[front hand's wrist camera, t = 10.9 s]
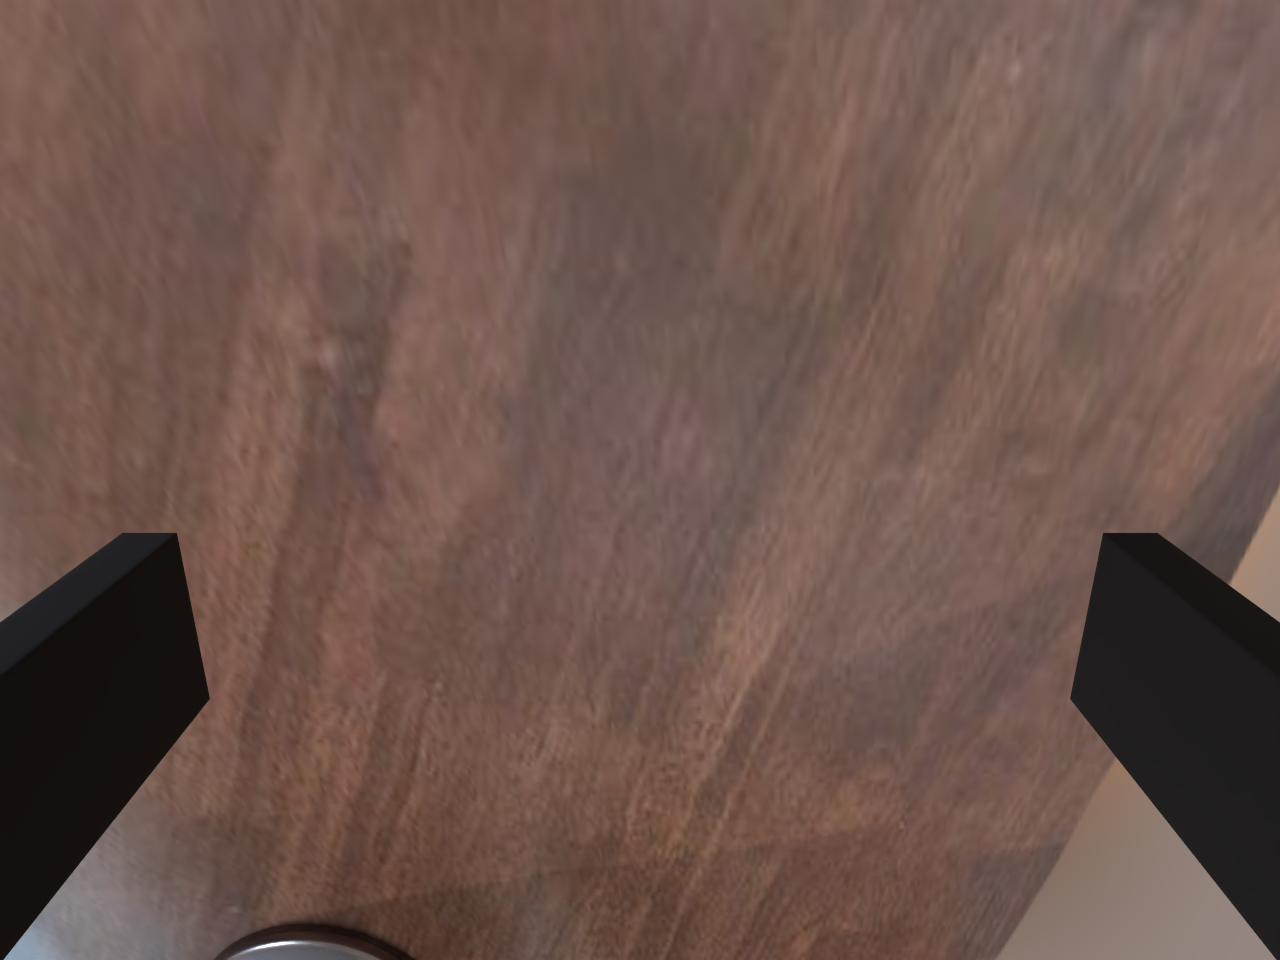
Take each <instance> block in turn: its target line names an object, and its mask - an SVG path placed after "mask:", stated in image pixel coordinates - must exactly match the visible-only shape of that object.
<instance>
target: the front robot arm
mask: <svg viewBox="0 0 1280 960" xmlns="http://www.w3.org/2000/svg"><path fill="white" fill-rule="evenodd" d="M209 699H210V697H209V692H208V687H207V682H206V677H205V672H204V667H203V662H202V657H201V652H200V647H199V642H198V637H197V632H196V627H195V622H194V617H193V612H192V607H191V602H190V597H189V592H188V587H187V582H186V577H185V572H184V567H183V562H182V557H181V552H180V547H179V542H178V537H177V533H122V534H121V535H119V536H118V537H117V538H115V539H114V540H112V541H111V542H110V543H108V544H107V545H106V546H104V547H103V548H102V549H100V550H99V551H97V552H96V553H95V554H93V555H92V556H91V557H89V558H88V559H86V560H85V561H84V562H82V563H81V564H80V565H78V566H77V567H76V568H74V569H73V570H71V571H70V572H69V573H67V574H66V575H65V576H63V577H62V578H60V579H59V580H58V581H56V582H55V583H54V584H52V585H51V586H50V587H48V588H47V589H45V590H44V591H43V592H41V593H40V594H39V595H37V596H36V597H34V598H33V599H32V600H30V601H29V602H28V603H26V604H25V605H24V606H22V607H21V608H19V609H18V610H17V611H15V612H14V613H13V614H11V615H10V616H9V617H7V618H6V619H4V620H3V621H2V622H0V960H4V958H5V957H6V956H7V954H8V953H9V952H10V951H11V949H12V948H13V947H14V946H15V944H16V943H17V942H18V941H19V939H20V938H21V937H22V936H23V934H24V933H25V932H26V930H27V929H28V928H29V927H30V925H31V924H32V923H33V922H34V920H35V919H36V918H37V917H38V915H39V914H40V913H41V912H42V910H43V909H44V908H45V906H46V905H47V904H48V903H49V901H50V900H51V899H52V898H53V896H54V895H55V894H56V893H57V891H58V890H59V889H60V887H61V886H62V885H63V884H64V882H65V881H66V880H67V879H68V877H69V876H70V875H71V874H72V872H73V871H74V870H75V869H76V867H77V866H78V865H79V863H80V862H81V861H82V860H83V858H84V857H85V856H86V855H87V853H88V852H89V851H90V850H91V848H92V847H93V846H94V845H95V843H96V842H97V841H98V839H99V838H100V837H101V836H102V834H103V833H104V832H105V831H106V829H107V828H108V827H109V826H110V824H111V823H112V822H113V820H114V819H115V818H116V817H117V815H118V814H119V813H120V812H121V810H122V809H123V808H124V807H125V805H126V804H127V803H128V802H129V800H130V799H131V798H132V796H133V795H134V794H135V793H136V791H137V790H138V789H139V788H140V786H141V785H142V784H143V783H144V781H145V780H146V779H147V778H148V776H149V775H150V774H151V772H152V771H153V770H154V769H155V767H156V766H157V765H158V764H159V762H160V761H161V760H162V759H163V757H164V756H165V755H166V753H167V752H168V751H169V750H170V748H171V747H172V746H173V745H174V743H175V742H176V741H177V740H178V738H179V737H180V736H181V735H182V733H183V732H184V731H185V729H186V728H187V727H188V726H189V724H190V723H191V722H192V721H193V719H194V718H195V717H196V716H197V714H198V713H199V712H200V711H201V709H202V708H203V707H204V705H205V704H206V703H207V702H208V700H209ZM1070 699H1071V700H1072V702H1073V703H1074V704H1075V705H1076V707H1077V708H1078V709H1079V711H1080V712H1081V713H1082V714H1083V716H1084V717H1085V718H1086V719H1087V721H1088V722H1089V723H1090V724H1091V726H1092V727H1093V728H1094V729H1095V731H1096V732H1097V733H1098V735H1099V736H1100V737H1101V738H1102V740H1103V741H1104V742H1105V743H1106V745H1107V746H1108V747H1109V748H1110V750H1111V751H1112V752H1113V753H1114V755H1115V756H1116V757H1117V759H1118V760H1119V761H1120V762H1121V764H1122V765H1123V766H1124V767H1125V769H1126V770H1127V771H1128V772H1129V774H1130V775H1131V776H1132V778H1133V779H1134V780H1135V781H1136V783H1137V784H1138V785H1139V786H1140V788H1141V789H1142V790H1143V791H1144V793H1145V794H1146V795H1147V796H1148V798H1149V799H1150V800H1151V802H1152V803H1153V804H1154V805H1155V807H1156V808H1157V809H1158V810H1159V812H1160V813H1161V814H1162V815H1163V817H1164V818H1165V819H1166V820H1167V822H1168V823H1169V824H1170V826H1171V827H1172V828H1173V829H1174V831H1175V832H1176V833H1177V834H1178V836H1179V837H1180V838H1181V839H1182V841H1183V842H1184V843H1185V845H1186V846H1187V847H1188V848H1189V850H1190V851H1191V852H1192V853H1193V855H1194V856H1195V857H1196V858H1197V860H1198V861H1199V862H1200V863H1201V865H1202V866H1203V867H1204V869H1205V870H1206V871H1207V872H1208V874H1209V875H1210V876H1211V877H1212V879H1213V880H1214V881H1215V882H1216V884H1217V885H1218V886H1219V887H1220V889H1221V890H1222V891H1223V893H1224V894H1225V895H1226V896H1227V898H1228V899H1229V900H1230V901H1231V903H1232V904H1233V905H1234V906H1235V908H1236V909H1237V910H1238V912H1239V913H1240V914H1241V915H1242V917H1243V918H1244V919H1245V920H1246V922H1247V923H1248V924H1249V925H1250V927H1251V928H1252V929H1253V930H1254V932H1255V933H1256V934H1257V936H1258V937H1259V938H1260V939H1261V940H1262V942H1263V943H1264V944H1265V946H1266V947H1267V948H1268V949H1269V951H1270V952H1271V953H1272V954H1273V956H1274V957H1275V958H1276V959H1277V960H1280V622H1278V621H1277V620H1276V619H1274V618H1273V617H1271V616H1270V615H1269V614H1267V613H1266V612H1265V611H1263V610H1262V609H1261V608H1259V607H1258V606H1256V605H1255V604H1254V603H1252V602H1251V601H1250V600H1248V599H1247V598H1245V597H1244V596H1243V595H1241V594H1240V593H1239V592H1237V591H1236V590H1235V589H1233V588H1232V587H1230V586H1229V585H1228V584H1226V583H1225V582H1224V581H1222V580H1221V579H1220V578H1218V577H1217V576H1215V575H1214V574H1213V573H1211V572H1210V571H1209V570H1207V569H1206V568H1204V567H1203V566H1202V565H1200V564H1199V563H1198V562H1196V561H1195V560H1194V559H1192V558H1191V557H1189V556H1188V555H1187V554H1185V553H1184V552H1183V551H1181V550H1180V549H1178V548H1177V547H1176V546H1174V545H1173V544H1172V543H1170V542H1169V541H1168V540H1166V539H1165V538H1163V537H1162V536H1161V535H1159V534H1158V533H1103V537H1102V542H1101V547H1100V552H1099V557H1098V562H1097V567H1096V572H1095V577H1094V582H1093V587H1092V592H1091V597H1090V602H1089V607H1088V612H1087V617H1086V622H1085V627H1084V632H1083V637H1082V642H1081V647H1080V652H1079V657H1078V662H1077V667H1076V672H1075V677H1074V682H1073V687H1072V692H1071V697H1070ZM214 960H410V959H409V958H408V957H407V956H405V955H404V954H402V953H401V952H400V951H398V950H396V949H395V948H393V947H391V946H390V945H388V944H386V943H384V942H382V941H380V940H378V939H375V938H373V937H370V936H368V935H365V934H362V933H359V932H356V931H352V930H348V929H344V928H339V927H333V926H326V925H315V924H299V925H287V926H280V927H274V928H270V929H265V930H262V931H259V932H256V933H253V934H251V935H249V936H246V937H244V938H242V939H240V940H238V941H236V942H235V943H233V944H232V945H230V946H229V947H227V948H226V949H225V950H223V951H222V952H221V953H220V954H219V955H218V956H217V957H216V958H215V959H214Z"/></svg>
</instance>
